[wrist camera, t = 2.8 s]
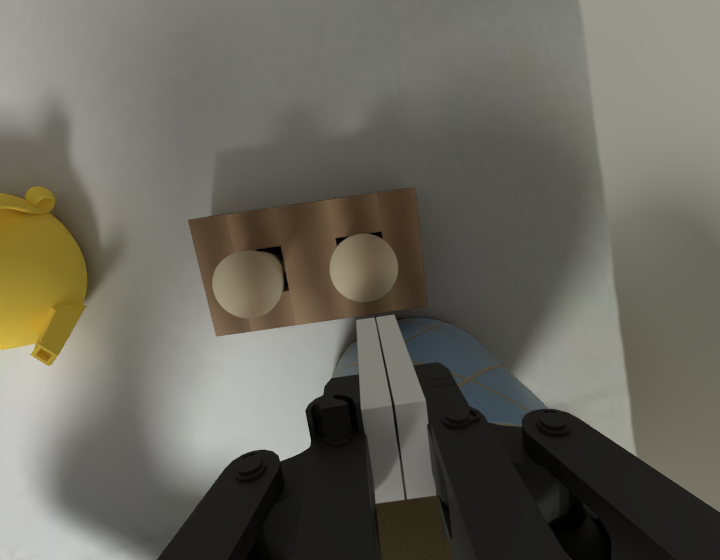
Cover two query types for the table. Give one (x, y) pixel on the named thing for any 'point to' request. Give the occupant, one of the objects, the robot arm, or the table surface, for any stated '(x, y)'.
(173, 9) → the table surface
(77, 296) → the teapot
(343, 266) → the peg
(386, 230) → the socket block
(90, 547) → the table surface
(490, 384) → the planter
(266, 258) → the peg
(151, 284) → the table surface
